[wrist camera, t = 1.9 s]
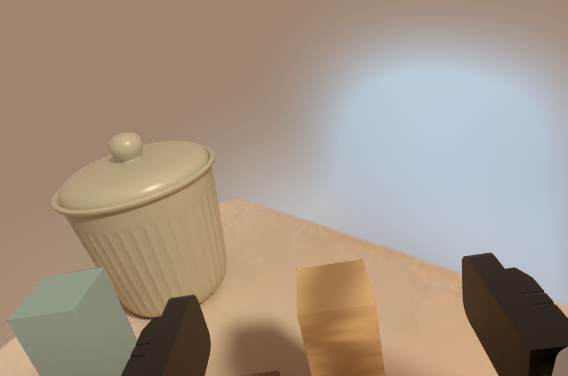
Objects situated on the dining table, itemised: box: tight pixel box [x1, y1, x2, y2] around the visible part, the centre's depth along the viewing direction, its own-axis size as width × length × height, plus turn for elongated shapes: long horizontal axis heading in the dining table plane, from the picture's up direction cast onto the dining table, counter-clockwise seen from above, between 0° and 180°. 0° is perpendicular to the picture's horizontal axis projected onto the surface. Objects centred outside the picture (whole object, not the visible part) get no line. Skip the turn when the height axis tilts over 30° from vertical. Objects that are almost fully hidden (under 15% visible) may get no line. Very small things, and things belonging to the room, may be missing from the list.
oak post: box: [296, 259, 385, 376], centre depth 29 cm, size 4×4×14 cm
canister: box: [51, 132, 226, 318], centre depth 49 cm, size 18×18×21 cm
